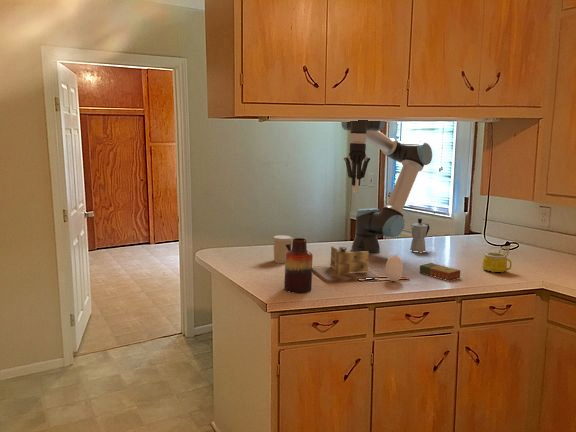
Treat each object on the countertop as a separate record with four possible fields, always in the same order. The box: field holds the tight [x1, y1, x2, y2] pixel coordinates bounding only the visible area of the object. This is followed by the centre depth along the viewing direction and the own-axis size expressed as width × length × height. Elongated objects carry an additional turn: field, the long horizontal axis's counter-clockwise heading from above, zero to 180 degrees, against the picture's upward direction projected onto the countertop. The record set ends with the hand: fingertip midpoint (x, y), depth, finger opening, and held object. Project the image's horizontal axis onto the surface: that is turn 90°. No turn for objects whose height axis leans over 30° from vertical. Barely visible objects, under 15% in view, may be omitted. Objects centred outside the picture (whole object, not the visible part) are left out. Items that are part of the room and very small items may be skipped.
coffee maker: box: [409, 218, 430, 252], centre depth 278 cm, size 15×9×18 cm, turn 129°
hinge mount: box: [312, 246, 380, 283], centre depth 226 cm, size 24×20×11 cm
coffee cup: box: [272, 234, 293, 264], centre depth 247 cm, size 9×9×12 cm
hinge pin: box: [338, 246, 348, 252], centre depth 223 cm, size 3×3×11 cm
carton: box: [419, 262, 461, 282], centre depth 230 cm, size 8×16×4 cm, turn 37°
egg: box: [384, 254, 404, 282], centre depth 217 cm, size 7×7×12 cm
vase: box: [284, 237, 314, 294], centre depth 202 cm, size 11×11×20 cm
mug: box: [481, 246, 513, 273], centre depth 240 cm, size 13×11×12 cm
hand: (355, 192), depth 244 cm, fingers closed
